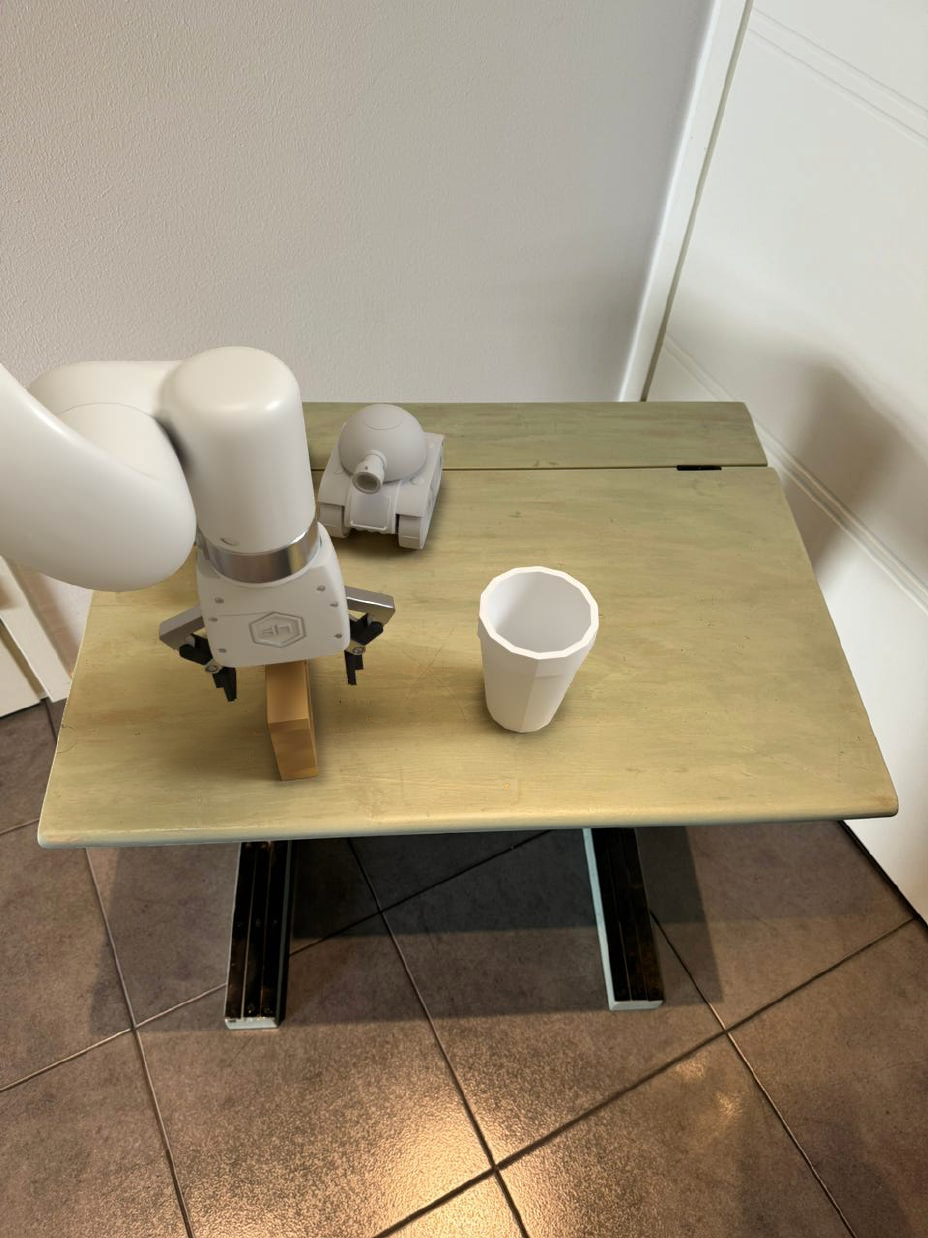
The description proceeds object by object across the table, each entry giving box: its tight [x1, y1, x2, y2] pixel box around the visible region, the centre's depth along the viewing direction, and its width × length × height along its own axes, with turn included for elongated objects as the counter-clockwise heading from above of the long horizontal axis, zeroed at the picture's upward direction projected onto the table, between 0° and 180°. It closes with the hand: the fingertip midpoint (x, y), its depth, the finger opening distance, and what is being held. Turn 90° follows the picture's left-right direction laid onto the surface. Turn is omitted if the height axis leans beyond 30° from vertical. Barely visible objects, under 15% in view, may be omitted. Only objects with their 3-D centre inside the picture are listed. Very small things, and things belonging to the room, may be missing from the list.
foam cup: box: [476, 565, 600, 734], centre depth 70 cm, size 10×9×13 cm
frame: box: [264, 659, 319, 782], centre depth 69 cm, size 3×12×9 cm, turn 11°
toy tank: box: [316, 403, 446, 550], centre depth 84 cm, size 15×11×13 cm
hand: (292, 679), depth 68 cm, fingers open, 9 cm apart
